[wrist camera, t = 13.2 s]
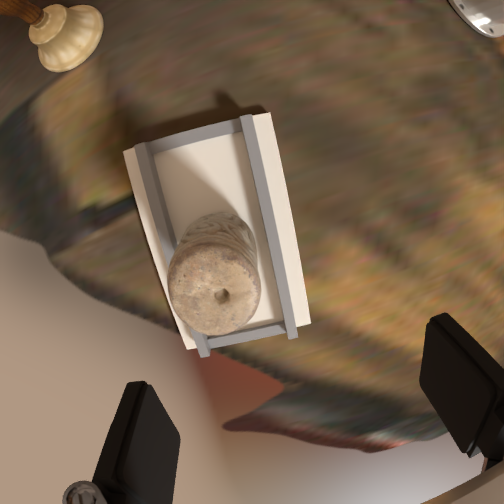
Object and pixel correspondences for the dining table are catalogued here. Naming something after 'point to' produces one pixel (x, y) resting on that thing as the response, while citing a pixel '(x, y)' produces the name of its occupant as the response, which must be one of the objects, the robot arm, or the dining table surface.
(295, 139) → the dining table surface
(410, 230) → the dining table surface
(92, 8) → the hand bell
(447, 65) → the dining table surface
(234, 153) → the rail plate
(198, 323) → the carving
